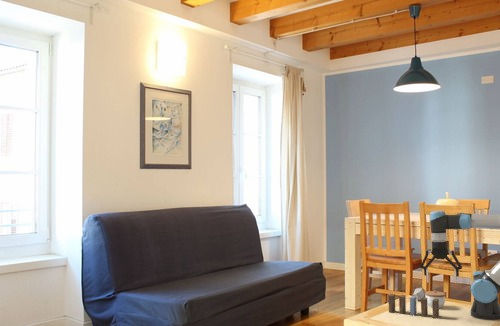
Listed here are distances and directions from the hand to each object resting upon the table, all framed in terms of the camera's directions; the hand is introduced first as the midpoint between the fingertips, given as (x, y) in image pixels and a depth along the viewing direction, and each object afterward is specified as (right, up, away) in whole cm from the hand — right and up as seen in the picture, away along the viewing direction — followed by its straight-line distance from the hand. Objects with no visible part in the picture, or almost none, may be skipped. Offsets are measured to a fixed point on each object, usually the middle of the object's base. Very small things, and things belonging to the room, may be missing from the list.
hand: (441, 282), depth 264 cm
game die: (+1, -20, +37) cm, 42 cm away
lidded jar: (+5, -19, +22) cm, 30 cm away
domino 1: (-22, -19, +13) cm, 32 cm away
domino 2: (-17, -19, +10) cm, 27 cm away
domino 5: (-3, -18, +1) cm, 18 cm away
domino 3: (-12, -19, +7) cm, 23 cm away
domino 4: (-8, -18, +4) cm, 20 cm away
